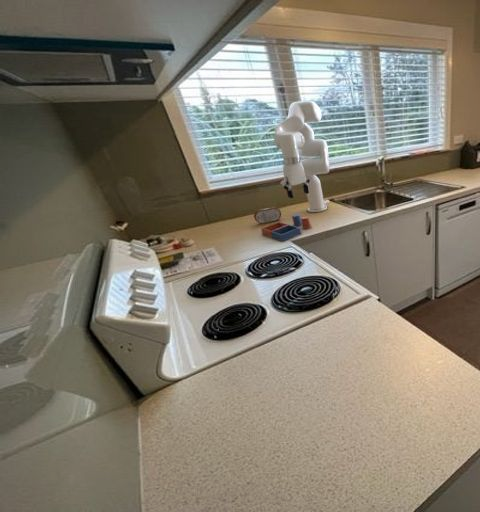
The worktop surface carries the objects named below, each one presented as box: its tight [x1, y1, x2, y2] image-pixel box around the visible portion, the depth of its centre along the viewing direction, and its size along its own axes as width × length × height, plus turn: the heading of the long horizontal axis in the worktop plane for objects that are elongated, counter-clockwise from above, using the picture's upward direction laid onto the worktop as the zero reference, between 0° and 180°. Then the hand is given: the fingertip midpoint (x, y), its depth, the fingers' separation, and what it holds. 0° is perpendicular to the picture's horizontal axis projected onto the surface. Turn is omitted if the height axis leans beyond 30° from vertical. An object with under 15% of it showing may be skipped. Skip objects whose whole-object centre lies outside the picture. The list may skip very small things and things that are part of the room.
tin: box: [253, 206, 282, 225], centre depth 173 cm, size 15×3×8 cm, turn 121°
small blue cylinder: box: [291, 213, 302, 227], centre depth 165 cm, size 4×4×6 cm
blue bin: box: [271, 224, 302, 242], centre depth 152 cm, size 11×9×4 cm
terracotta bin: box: [260, 221, 290, 239], centre depth 158 cm, size 11×9×4 cm
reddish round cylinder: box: [300, 215, 312, 230], centre depth 160 cm, size 4×4×6 cm
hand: (299, 195), depth 151 cm, fingers open, 9 cm apart
